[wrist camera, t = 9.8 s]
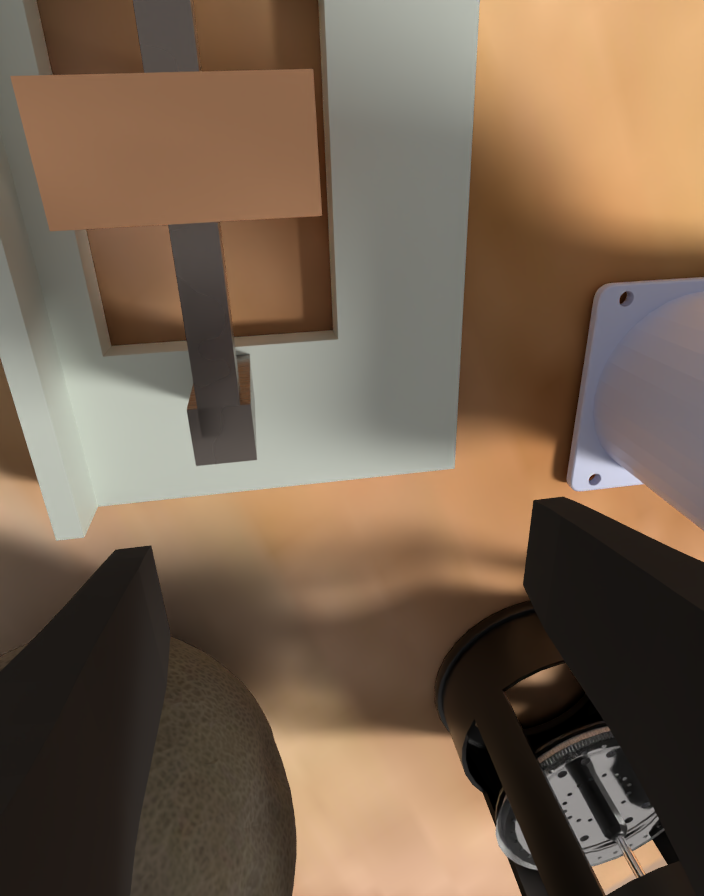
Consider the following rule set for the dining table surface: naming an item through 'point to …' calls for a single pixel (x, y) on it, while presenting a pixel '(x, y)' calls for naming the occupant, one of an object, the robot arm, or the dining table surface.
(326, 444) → the grey base plate
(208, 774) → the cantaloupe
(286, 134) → the peach u-shaped bracket
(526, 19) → the dining table surface
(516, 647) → the french press
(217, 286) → the hook arm
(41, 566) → the dining table surface
